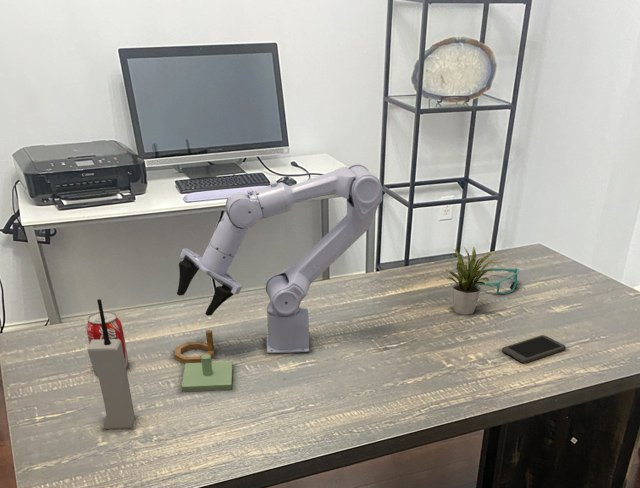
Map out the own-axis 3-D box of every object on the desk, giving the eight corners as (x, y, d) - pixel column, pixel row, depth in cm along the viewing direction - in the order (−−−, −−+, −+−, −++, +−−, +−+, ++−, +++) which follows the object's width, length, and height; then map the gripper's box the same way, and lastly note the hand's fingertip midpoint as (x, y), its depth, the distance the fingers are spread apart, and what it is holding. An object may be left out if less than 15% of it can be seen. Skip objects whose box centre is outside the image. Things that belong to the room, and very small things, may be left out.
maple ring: (215, 345, 155) (213, 323, 152) (213, 363, 148) (211, 339, 145) (177, 347, 154) (174, 324, 151) (173, 364, 147) (170, 341, 144)
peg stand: (232, 366, 147) (231, 344, 144) (231, 389, 139) (229, 367, 136) (185, 368, 146) (183, 346, 143) (181, 391, 138) (178, 369, 135)
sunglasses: (507, 298, 181) (508, 280, 179) (456, 291, 189) (456, 274, 186) (526, 282, 191) (527, 265, 189) (477, 276, 199) (477, 259, 196)
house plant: (505, 308, 176) (515, 247, 167) (484, 327, 166) (493, 262, 157) (455, 296, 182) (462, 236, 173) (432, 313, 173) (438, 250, 164)
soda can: (136, 364, 147) (127, 312, 140) (116, 379, 141) (106, 326, 135) (108, 358, 149) (98, 307, 142) (88, 373, 143) (76, 321, 137)
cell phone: (500, 350, 156) (500, 347, 155) (543, 337, 162) (543, 334, 162) (523, 363, 150) (524, 360, 150) (566, 349, 157) (567, 346, 156)
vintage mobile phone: (108, 418, 129) (82, 295, 115) (135, 418, 129) (113, 294, 115) (104, 429, 126) (77, 303, 112) (131, 429, 126) (108, 303, 112)
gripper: (184, 229, 137) (157, 286, 142) (241, 269, 136) (212, 325, 141) (201, 230, 144) (175, 284, 149) (256, 267, 142) (227, 321, 147)
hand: (194, 304), depth 145 cm, fingers open, 7 cm apart
